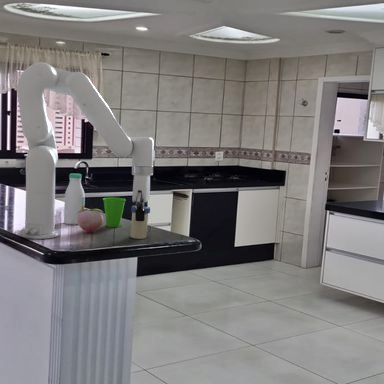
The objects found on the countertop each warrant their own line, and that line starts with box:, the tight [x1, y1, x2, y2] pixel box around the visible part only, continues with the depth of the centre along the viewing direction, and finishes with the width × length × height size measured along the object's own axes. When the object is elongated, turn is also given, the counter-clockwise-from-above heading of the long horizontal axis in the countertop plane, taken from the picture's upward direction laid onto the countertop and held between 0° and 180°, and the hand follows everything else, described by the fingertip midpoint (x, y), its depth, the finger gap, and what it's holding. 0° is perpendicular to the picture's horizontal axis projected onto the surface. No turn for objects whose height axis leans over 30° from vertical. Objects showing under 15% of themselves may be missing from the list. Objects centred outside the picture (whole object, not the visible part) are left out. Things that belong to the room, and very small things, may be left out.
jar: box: [129, 212, 149, 240], centre depth 208 cm, size 6×6×11 cm
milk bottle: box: [63, 173, 86, 225], centre depth 227 cm, size 8×8×20 cm
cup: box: [102, 197, 127, 228], centre depth 227 cm, size 9×9×11 cm
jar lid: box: [130, 205, 151, 215], centre depth 208 cm, size 7×7×2 cm
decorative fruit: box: [77, 205, 105, 234], centre depth 211 cm, size 9×8×10 cm
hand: (141, 218), depth 208 cm, fingers closed on jar lid, 6 cm apart
